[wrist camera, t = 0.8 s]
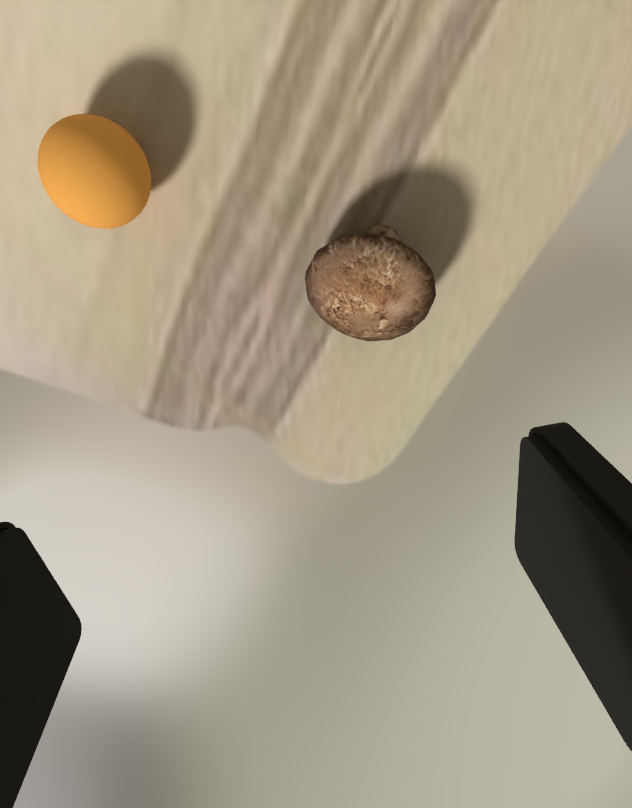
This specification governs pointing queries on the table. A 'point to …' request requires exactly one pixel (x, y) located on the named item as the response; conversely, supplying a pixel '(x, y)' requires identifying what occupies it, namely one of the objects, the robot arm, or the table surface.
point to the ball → (94, 171)
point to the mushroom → (370, 285)
